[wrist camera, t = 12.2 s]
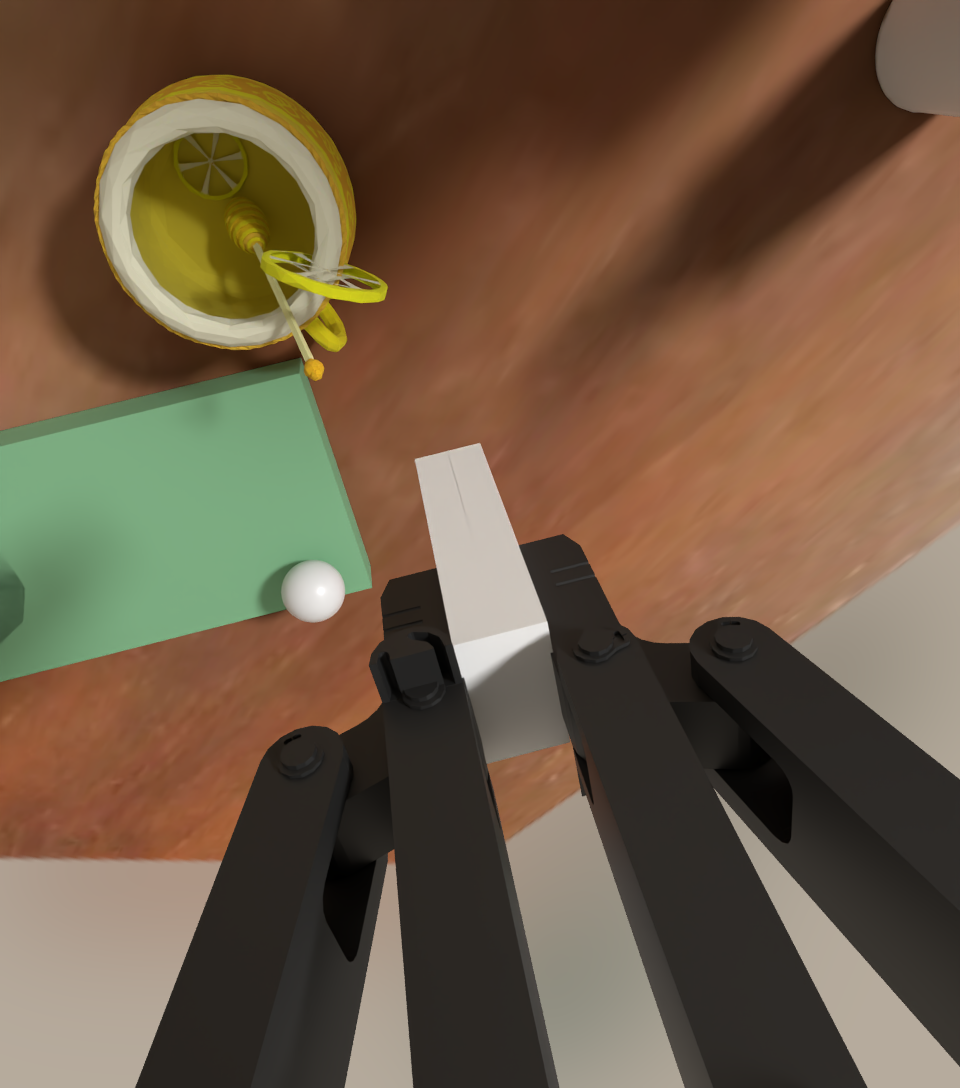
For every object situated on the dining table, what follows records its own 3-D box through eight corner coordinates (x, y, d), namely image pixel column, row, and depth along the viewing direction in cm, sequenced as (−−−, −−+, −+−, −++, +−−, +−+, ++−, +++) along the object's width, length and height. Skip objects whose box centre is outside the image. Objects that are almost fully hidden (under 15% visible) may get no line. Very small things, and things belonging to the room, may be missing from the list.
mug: (68, 179, 36) (-35, 227, 26) (245, 16, 34) (207, -1, 24) (264, 386, 43) (243, 487, 33) (423, 260, 40) (452, 327, 30)
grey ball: (274, 556, 45) (270, 592, 42) (334, 541, 46) (334, 576, 43) (294, 604, 47) (291, 641, 44) (351, 589, 47) (353, 626, 44)
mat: (-215, 483, 41) (-270, 526, 38) (301, 357, 42) (297, 387, 38) (-64, 674, 49) (-97, 726, 45) (370, 565, 50) (373, 606, 46)
